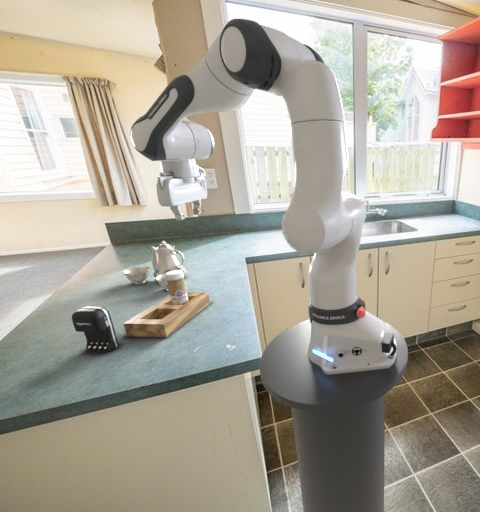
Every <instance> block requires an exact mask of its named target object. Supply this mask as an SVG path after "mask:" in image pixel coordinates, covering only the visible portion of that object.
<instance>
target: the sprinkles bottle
mask: <svg viewBox="0 0 480 512" xmlns="http://www.w3.org/2000/svg"><path fill="white" fill-rule="evenodd" d="M184 277H185V275H183V271H181V270H174V271H169V272H167V273H165V278H166V281H167V283H168V288H169V291H168V292H169V296H170V297H171V301H172V304H173V305H184V304H185V303H186V302H188V295H187V293H188V292H187V291H188V290H187V286H186V283H185V278H184ZM183 278H184V279H183Z"/></svg>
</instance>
